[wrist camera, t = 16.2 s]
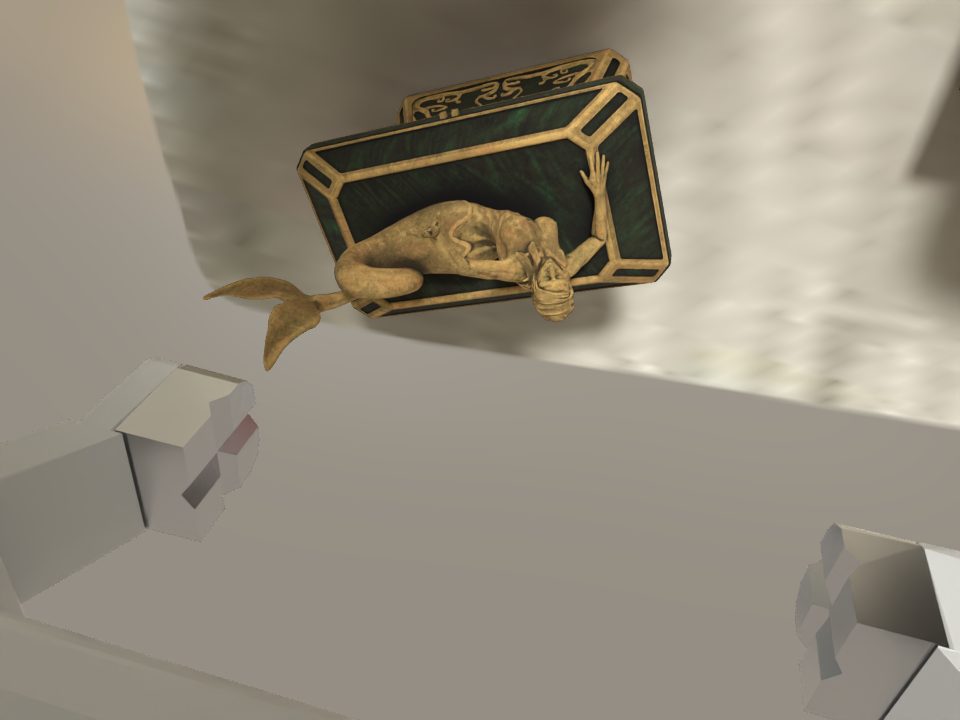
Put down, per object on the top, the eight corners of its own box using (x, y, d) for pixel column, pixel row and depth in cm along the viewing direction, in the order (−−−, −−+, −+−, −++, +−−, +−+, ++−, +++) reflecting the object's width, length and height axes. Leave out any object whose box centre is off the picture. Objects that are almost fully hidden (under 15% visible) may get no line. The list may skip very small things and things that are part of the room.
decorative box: (655, 18, 39) (608, 151, 24) (682, 195, 44) (658, 404, 28) (316, 101, 47) (109, 247, 31) (371, 246, 51) (216, 436, 36)
